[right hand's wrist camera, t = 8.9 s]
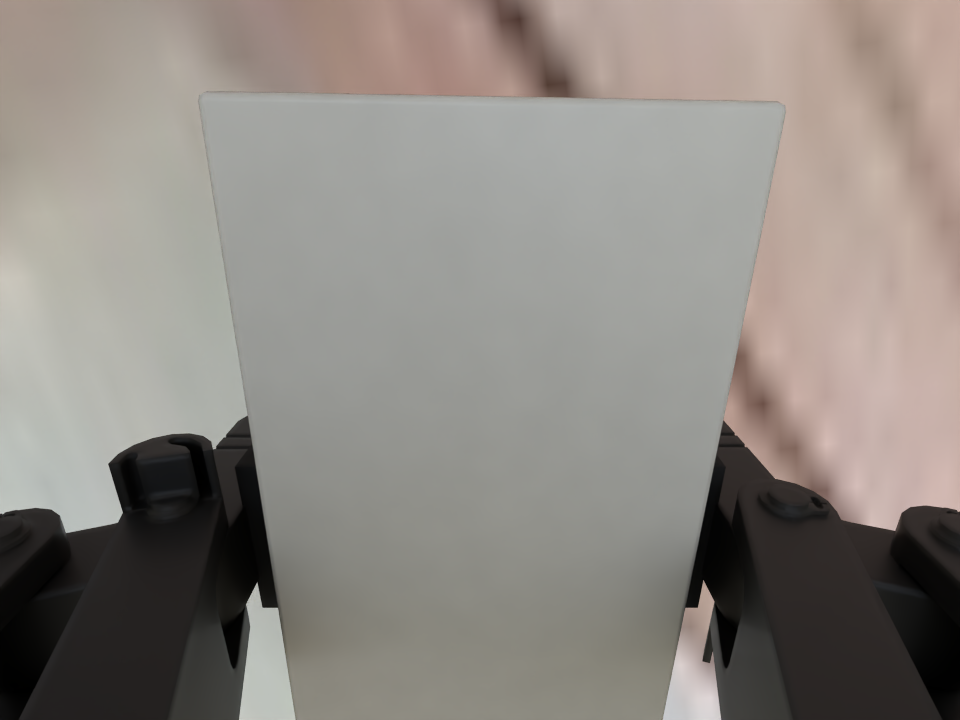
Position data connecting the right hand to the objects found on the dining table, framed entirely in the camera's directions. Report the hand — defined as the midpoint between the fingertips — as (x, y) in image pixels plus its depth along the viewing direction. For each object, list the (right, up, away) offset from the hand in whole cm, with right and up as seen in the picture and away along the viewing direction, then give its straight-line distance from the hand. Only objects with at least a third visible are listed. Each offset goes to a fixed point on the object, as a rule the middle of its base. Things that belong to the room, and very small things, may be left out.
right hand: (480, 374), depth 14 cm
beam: (0, -22, +9) cm, 24 cm away
